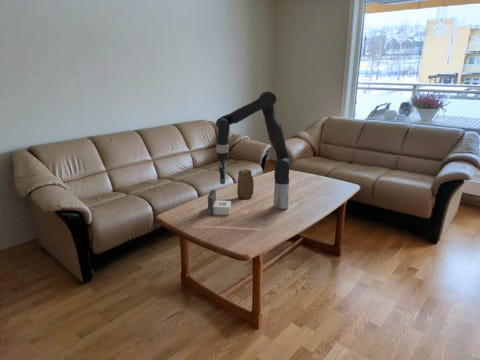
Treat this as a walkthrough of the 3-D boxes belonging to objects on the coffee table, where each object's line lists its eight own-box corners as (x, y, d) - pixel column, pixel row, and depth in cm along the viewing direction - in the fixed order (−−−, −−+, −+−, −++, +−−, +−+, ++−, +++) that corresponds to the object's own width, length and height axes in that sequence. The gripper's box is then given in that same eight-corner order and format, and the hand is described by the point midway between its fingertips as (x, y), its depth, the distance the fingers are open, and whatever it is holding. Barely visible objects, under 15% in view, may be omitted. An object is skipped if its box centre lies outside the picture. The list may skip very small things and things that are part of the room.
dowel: (225, 182, 218) (225, 164, 214) (224, 184, 215) (224, 165, 211) (220, 182, 218) (220, 164, 214) (219, 183, 215) (219, 165, 211)
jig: (242, 209, 221) (242, 190, 216) (240, 218, 208) (241, 198, 204) (211, 208, 222) (211, 189, 218) (208, 217, 210) (207, 197, 205)
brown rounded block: (242, 200, 235) (243, 173, 228) (236, 197, 240) (236, 170, 234) (254, 197, 241) (255, 170, 235) (247, 194, 247) (248, 167, 240)
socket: (231, 208, 219) (231, 201, 218) (229, 214, 210) (229, 207, 208) (215, 207, 220) (215, 200, 218) (213, 214, 210) (213, 206, 209)
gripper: (218, 148, 216) (218, 174, 222) (214, 153, 203) (214, 181, 209) (230, 148, 216) (229, 174, 221) (227, 154, 203) (227, 181, 208)
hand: (222, 177), depth 215 cm, fingers closed on dowel, 3 cm apart
